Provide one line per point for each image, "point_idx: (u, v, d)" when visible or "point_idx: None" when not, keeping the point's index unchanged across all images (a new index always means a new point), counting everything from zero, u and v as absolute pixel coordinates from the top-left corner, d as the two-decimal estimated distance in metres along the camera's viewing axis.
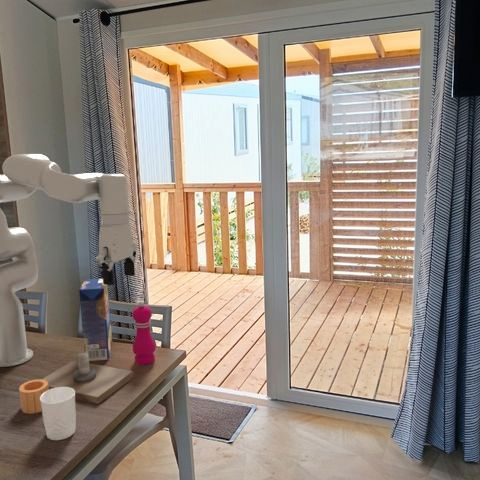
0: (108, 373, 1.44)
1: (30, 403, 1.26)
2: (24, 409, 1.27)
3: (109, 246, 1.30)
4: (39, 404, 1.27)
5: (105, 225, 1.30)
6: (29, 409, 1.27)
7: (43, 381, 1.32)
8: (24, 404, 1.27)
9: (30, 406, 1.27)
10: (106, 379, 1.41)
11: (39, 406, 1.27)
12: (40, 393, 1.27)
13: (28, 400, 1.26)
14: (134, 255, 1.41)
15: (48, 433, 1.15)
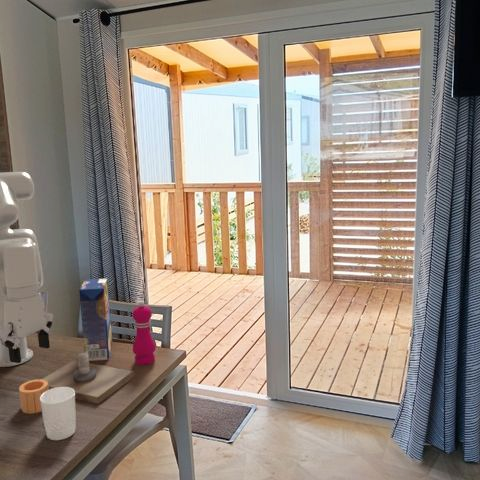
0: (108, 373, 1.44)
1: (30, 403, 1.26)
2: (24, 409, 1.27)
3: (14, 322, 1.20)
4: (39, 404, 1.27)
5: (10, 299, 1.21)
6: (29, 409, 1.27)
7: (43, 381, 1.32)
8: (24, 404, 1.27)
9: (30, 406, 1.27)
10: (106, 379, 1.41)
11: (39, 406, 1.27)
12: (40, 393, 1.27)
13: (28, 400, 1.26)
14: (49, 325, 1.32)
15: (48, 433, 1.15)
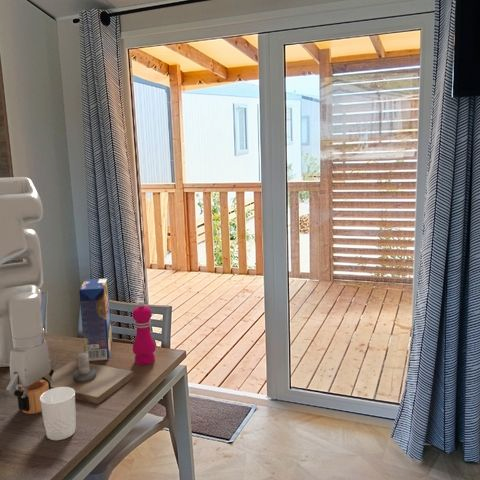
0: (108, 373, 1.44)
1: (30, 403, 1.26)
2: None
3: (19, 372, 1.23)
4: (39, 404, 1.27)
5: (16, 349, 1.24)
6: (29, 409, 1.27)
7: (43, 381, 1.32)
8: None
9: (30, 406, 1.27)
10: (106, 379, 1.41)
11: (39, 406, 1.27)
12: (40, 393, 1.27)
13: None
14: (51, 374, 1.34)
15: (48, 433, 1.15)
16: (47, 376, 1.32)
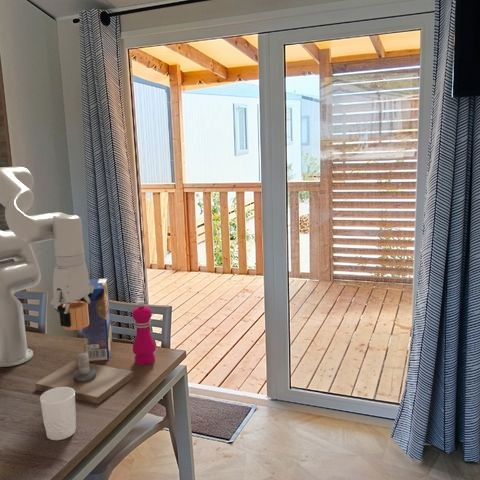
0: (108, 373, 1.44)
1: (71, 320, 1.34)
2: None
3: (62, 288, 1.30)
4: (80, 321, 1.35)
5: (59, 267, 1.31)
6: (70, 326, 1.34)
7: (83, 302, 1.39)
8: None
9: (71, 323, 1.34)
10: (106, 379, 1.41)
11: (80, 323, 1.35)
12: (81, 311, 1.34)
13: (70, 317, 1.34)
14: (89, 297, 1.41)
15: (48, 433, 1.15)
16: (86, 297, 1.39)
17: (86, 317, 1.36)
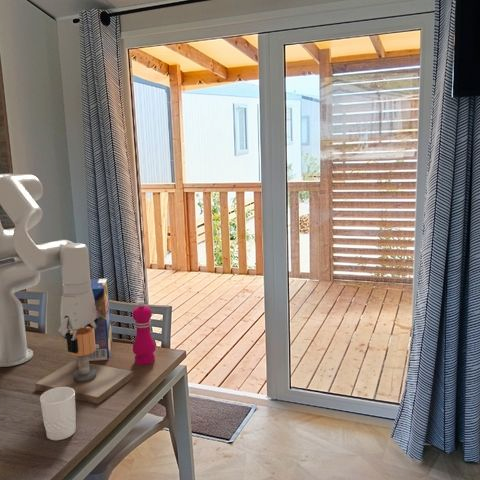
0: (108, 373, 1.44)
1: (79, 346, 1.36)
2: None
3: (70, 315, 1.33)
4: (87, 347, 1.37)
5: (66, 294, 1.34)
6: (78, 352, 1.37)
7: (89, 327, 1.42)
8: None
9: (79, 349, 1.37)
10: (106, 379, 1.41)
11: (87, 349, 1.37)
12: (88, 337, 1.37)
13: None
14: (95, 322, 1.44)
15: (48, 433, 1.15)
16: (92, 323, 1.42)
17: (93, 343, 1.39)
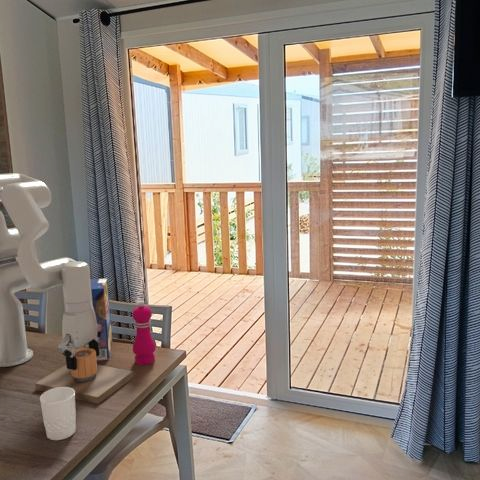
0: (108, 373, 1.44)
1: (80, 368, 1.38)
2: (75, 374, 1.39)
3: (72, 334, 1.34)
4: (88, 369, 1.39)
5: (68, 313, 1.35)
6: (79, 374, 1.38)
7: (91, 349, 1.43)
8: None
9: (80, 371, 1.38)
10: (106, 379, 1.41)
11: (88, 371, 1.39)
12: (89, 359, 1.39)
13: (79, 365, 1.38)
14: (99, 335, 1.46)
15: (48, 433, 1.15)
16: (95, 338, 1.43)
17: (94, 365, 1.40)
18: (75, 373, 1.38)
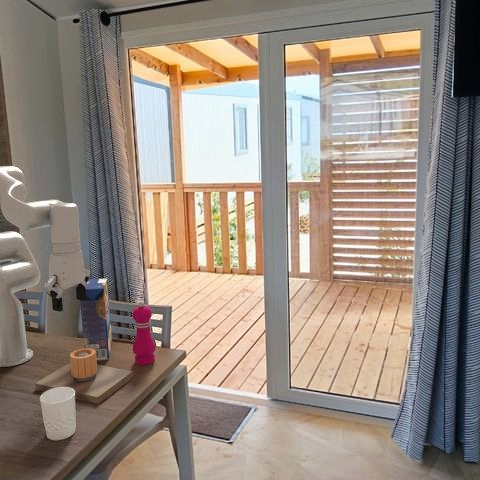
0: (108, 373, 1.44)
1: (80, 368, 1.38)
2: (75, 374, 1.39)
3: (58, 274, 1.33)
4: (88, 369, 1.39)
5: (55, 253, 1.34)
6: (79, 374, 1.38)
7: (91, 349, 1.43)
8: (75, 369, 1.38)
9: (80, 371, 1.38)
10: (106, 379, 1.41)
11: (88, 371, 1.39)
12: (89, 359, 1.39)
13: (79, 365, 1.38)
14: (86, 280, 1.45)
15: (48, 433, 1.15)
16: (83, 282, 1.42)
17: (94, 365, 1.40)
18: (75, 373, 1.38)
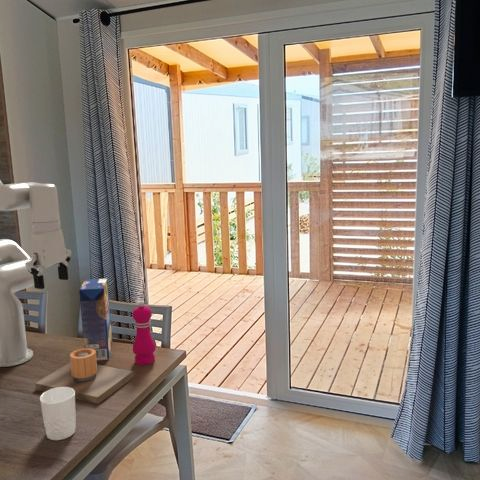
0: (108, 373, 1.44)
1: (80, 368, 1.38)
2: (75, 374, 1.39)
3: (39, 252, 1.37)
4: (88, 369, 1.39)
5: (35, 232, 1.38)
6: (79, 374, 1.38)
7: (91, 349, 1.43)
8: (75, 369, 1.38)
9: (80, 371, 1.38)
10: (106, 379, 1.41)
11: (88, 371, 1.39)
12: (89, 359, 1.39)
13: (79, 365, 1.38)
14: (68, 260, 1.49)
15: (48, 433, 1.15)
16: (64, 261, 1.46)
17: (94, 365, 1.40)
18: (75, 373, 1.38)
